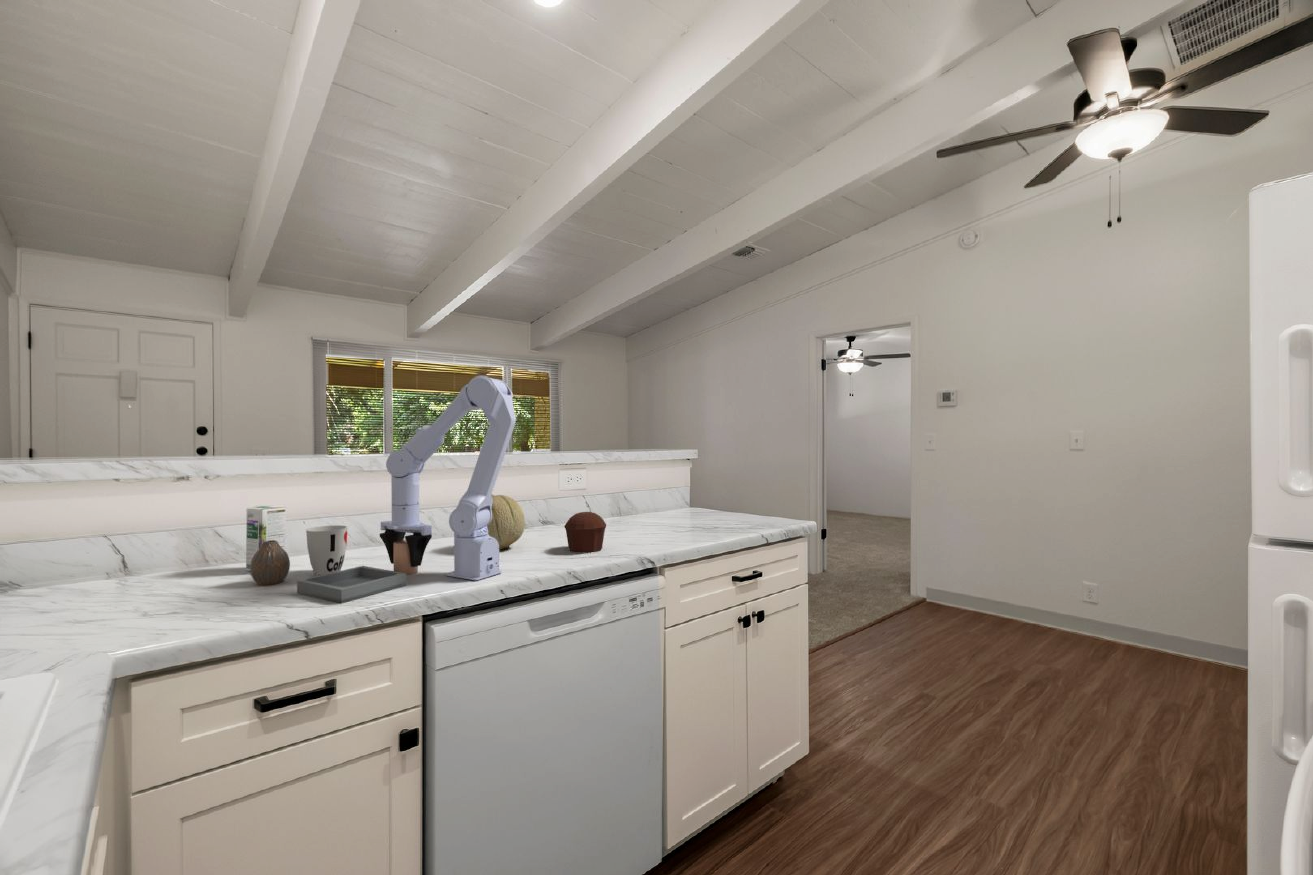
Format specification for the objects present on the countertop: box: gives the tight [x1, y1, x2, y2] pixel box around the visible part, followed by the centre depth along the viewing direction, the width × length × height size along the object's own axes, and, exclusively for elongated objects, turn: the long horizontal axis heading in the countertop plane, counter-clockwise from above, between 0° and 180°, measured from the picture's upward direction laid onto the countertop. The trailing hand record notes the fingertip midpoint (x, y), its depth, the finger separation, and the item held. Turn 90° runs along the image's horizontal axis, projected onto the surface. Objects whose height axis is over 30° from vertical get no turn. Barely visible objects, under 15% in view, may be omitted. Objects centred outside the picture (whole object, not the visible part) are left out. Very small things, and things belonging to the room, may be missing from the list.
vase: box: [249, 540, 291, 586], centre depth 120 cm, size 7×7×9 cm
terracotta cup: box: [393, 539, 419, 577], centre depth 128 cm, size 5×5×7 cm
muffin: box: [564, 511, 607, 554], centre depth 154 cm, size 12×11×10 cm
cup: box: [305, 524, 349, 576], centre depth 129 cm, size 8×8×10 cm
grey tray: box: [296, 565, 407, 604], centre depth 115 cm, size 14×14×2 cm
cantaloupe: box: [487, 493, 526, 550], centre depth 155 cm, size 15×15×15 cm
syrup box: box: [245, 505, 287, 572], centre depth 131 cm, size 6×6×14 cm
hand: (405, 564), depth 128 cm, fingers open, 6 cm apart
